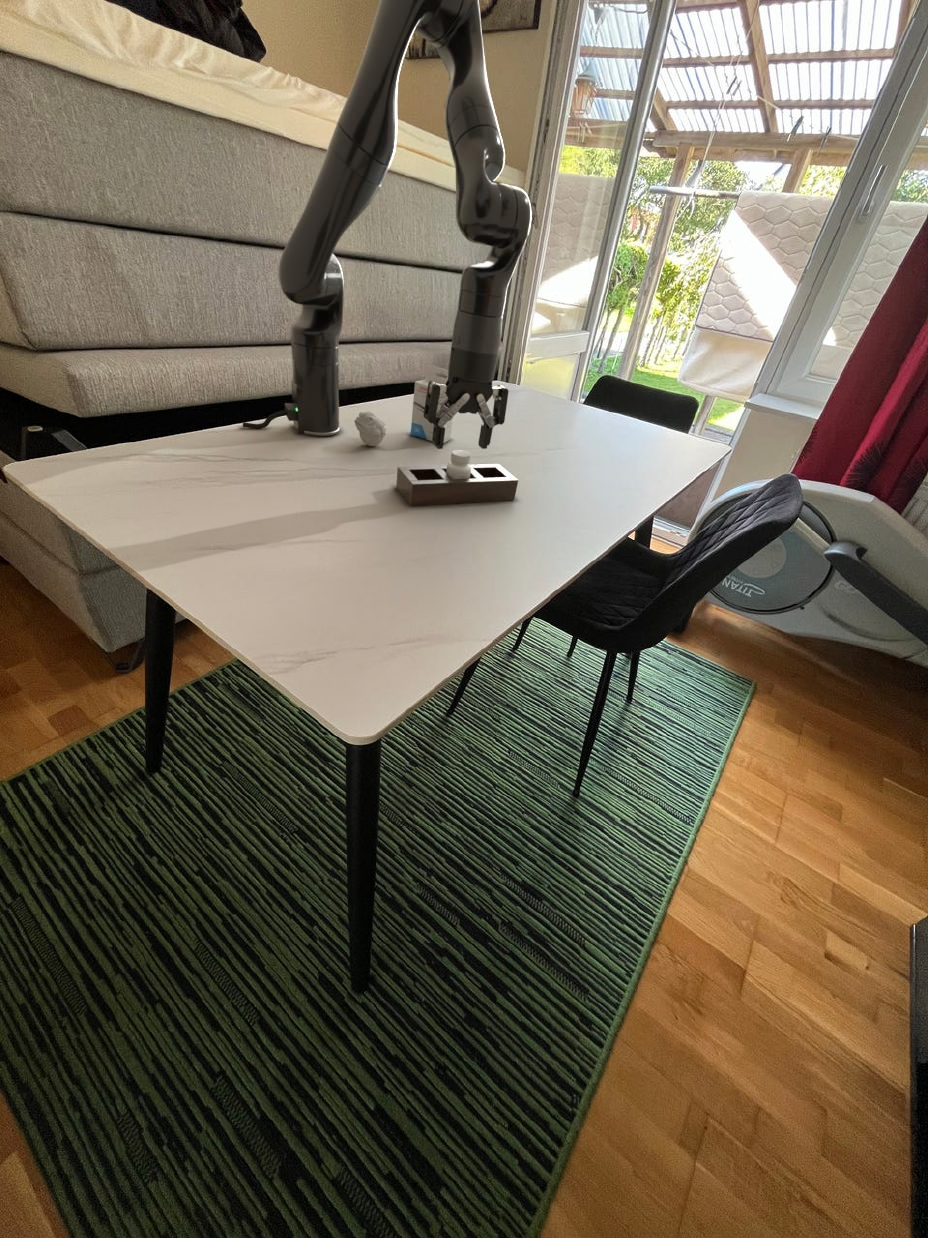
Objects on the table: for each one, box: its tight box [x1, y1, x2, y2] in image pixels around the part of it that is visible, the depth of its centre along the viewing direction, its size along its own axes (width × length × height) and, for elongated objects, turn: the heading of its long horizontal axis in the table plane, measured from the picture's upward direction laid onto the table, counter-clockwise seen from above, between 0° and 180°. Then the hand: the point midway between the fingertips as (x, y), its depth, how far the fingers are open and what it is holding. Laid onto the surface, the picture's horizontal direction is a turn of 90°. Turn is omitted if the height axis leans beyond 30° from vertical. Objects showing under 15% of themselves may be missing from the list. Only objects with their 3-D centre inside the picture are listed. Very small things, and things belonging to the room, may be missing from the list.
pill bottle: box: [446, 449, 471, 479], centre depth 94 cm, size 4×4×8 cm
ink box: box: [410, 364, 454, 444], centre depth 116 cm, size 9×5×15 cm, turn 65°
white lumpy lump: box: [353, 411, 387, 447], centre depth 109 cm, size 6×7×7 cm
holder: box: [395, 463, 519, 507], centre depth 95 cm, size 8×21×4 cm, turn 114°
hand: (460, 447), depth 91 cm, fingers open, 8 cm apart
